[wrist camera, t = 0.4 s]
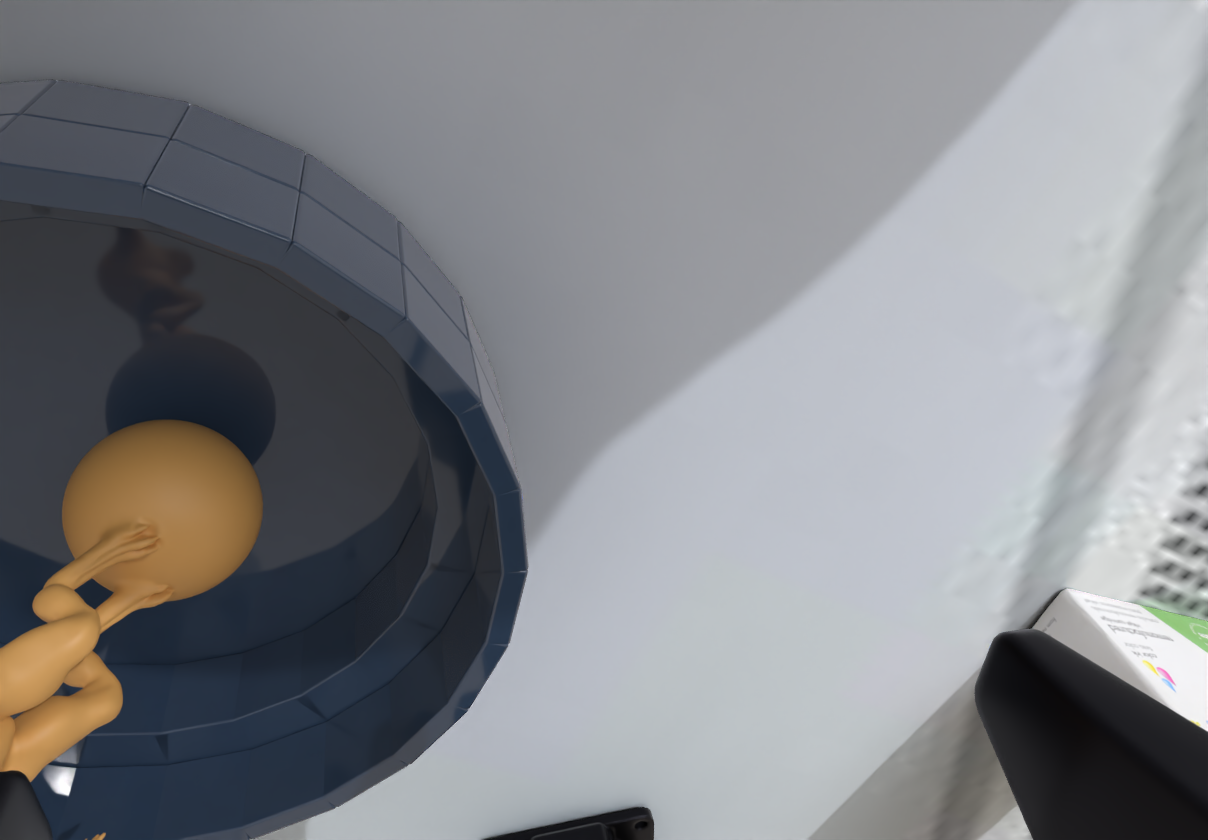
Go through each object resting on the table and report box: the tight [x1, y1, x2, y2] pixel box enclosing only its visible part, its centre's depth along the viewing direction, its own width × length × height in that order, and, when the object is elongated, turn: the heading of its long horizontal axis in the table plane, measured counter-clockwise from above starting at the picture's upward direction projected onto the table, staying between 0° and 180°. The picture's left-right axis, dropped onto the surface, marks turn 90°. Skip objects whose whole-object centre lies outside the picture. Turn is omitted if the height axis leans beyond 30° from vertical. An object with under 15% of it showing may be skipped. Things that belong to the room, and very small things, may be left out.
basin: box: [0, 79, 528, 840], centre depth 20 cm, size 17×17×5 cm
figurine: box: [0, 420, 263, 840], centre depth 17 cm, size 8×6×12 cm
